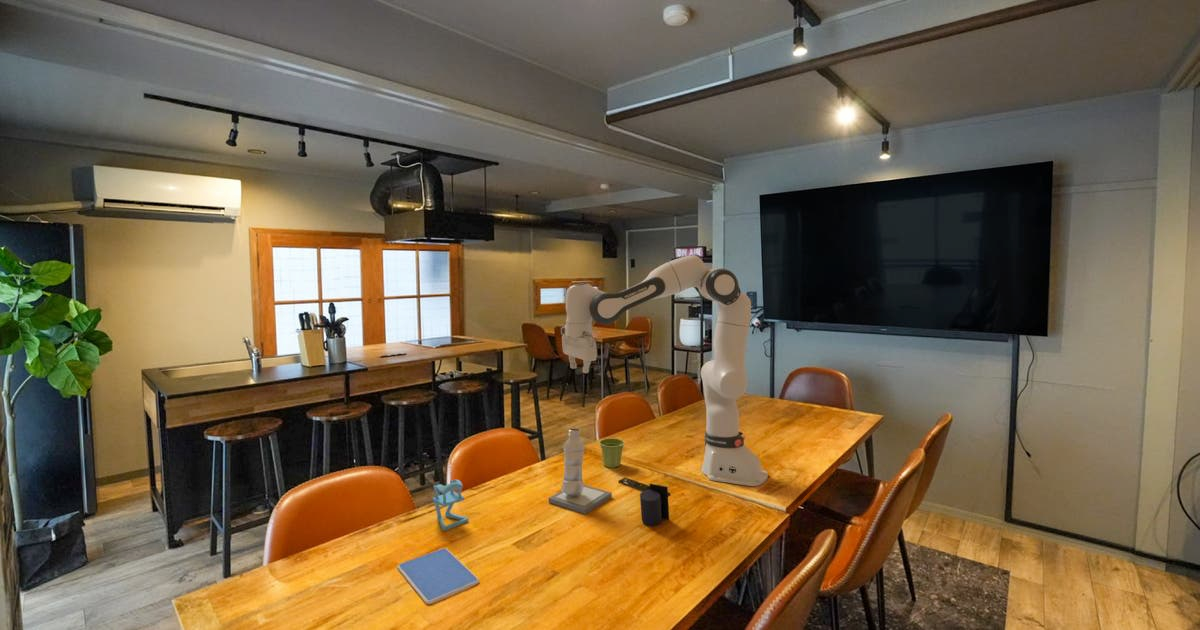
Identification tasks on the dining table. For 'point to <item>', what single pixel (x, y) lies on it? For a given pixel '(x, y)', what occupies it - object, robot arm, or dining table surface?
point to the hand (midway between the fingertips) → (579, 370)
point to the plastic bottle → (573, 464)
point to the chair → (448, 502)
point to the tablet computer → (437, 575)
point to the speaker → (654, 505)
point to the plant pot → (611, 451)
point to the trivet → (581, 499)
